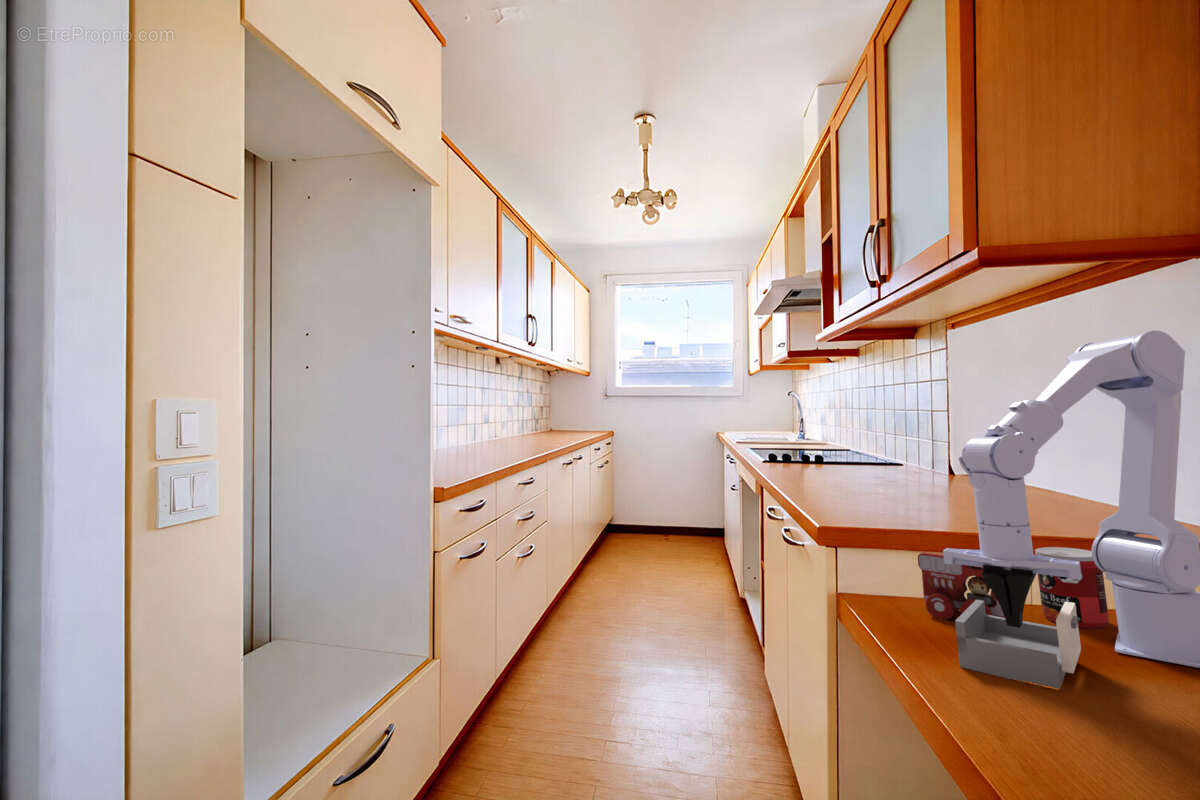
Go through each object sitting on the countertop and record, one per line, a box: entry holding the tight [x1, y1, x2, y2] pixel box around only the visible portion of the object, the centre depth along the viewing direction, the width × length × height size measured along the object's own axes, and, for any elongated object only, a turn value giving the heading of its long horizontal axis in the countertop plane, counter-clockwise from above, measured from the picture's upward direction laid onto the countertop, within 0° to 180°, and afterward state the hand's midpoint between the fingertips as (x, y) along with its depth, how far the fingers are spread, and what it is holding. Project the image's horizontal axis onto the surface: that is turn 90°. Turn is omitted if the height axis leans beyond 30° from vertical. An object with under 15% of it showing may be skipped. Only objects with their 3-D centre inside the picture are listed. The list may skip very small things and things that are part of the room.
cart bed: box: [954, 600, 1067, 689], centre depth 68 cm, size 10×12×6 cm
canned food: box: [1034, 546, 1110, 630], centre depth 82 cm, size 8×8×11 cm
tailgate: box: [1055, 602, 1082, 674], centre depth 64 cm, size 1×9×6 cm, turn 132°
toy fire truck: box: [917, 551, 1005, 621], centre depth 85 cm, size 7×12×10 cm, turn 40°
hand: (1014, 624), depth 68 cm, fingers closed
